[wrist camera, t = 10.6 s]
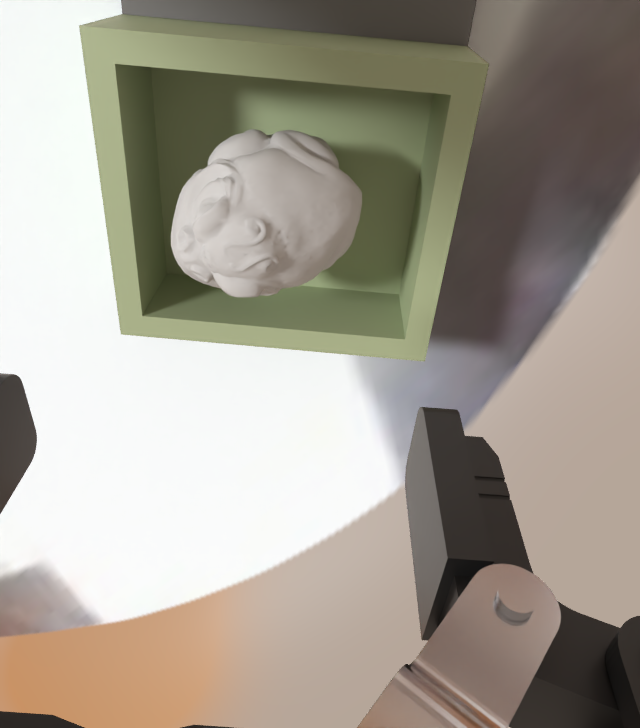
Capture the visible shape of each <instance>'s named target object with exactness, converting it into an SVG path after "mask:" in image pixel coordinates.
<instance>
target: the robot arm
mask: <svg viewBox="0 0 640 728" xmlns="http://www.w3.org/2000/svg"><path fill="white" fill-rule="evenodd" d="M36 443H37V435H36V429H35V426H34V422H33V419H32V415H31V412H30V408H29V405H28V401H27V398H26V394H25V391H24V387H23V384H22V381H21V379H20V378H19V377H18V376H17V375H14V374H1V373H0V514H1V512H2V510H3V509H4V507H5V505H6V504H7V502H8V500H9V499H10V497H11V495H12V494H13V492H14V490H15V489H16V487H17V485H18V483H19V482H20V480H21V478H22V477H23V475H24V473H25V472H26V470H27V468H28V467H29V465H30V463H31V461H32V459H33V457H34V454H35V450H36ZM504 479H505V478H504V475H503V471H502V468H501V464H500V461H499V457H498V456H497V455H496V453H495V452H494V451H493V450H492V448H491V447H490V446H489V445H488V443H486V441H485V440H484V439H483V437H472V436H471V437H470V436H465V435H464V431H463V427H462V423H461V418H460V415H459V412H458V410H454V409H441V408H428V407H420V408H419V410H418V414H417V418H416V422H415V427H414V432H413V436H412V441H411V445H410V450H409V454H408V459H407V465H406V476H405V490H406V499H407V509H408V518H409V527H410V537H411V546H412V555H413V564H414V574H415V583H416V592H417V601H418V611H419V619H420V629H421V638H422V640H428V642H427V643H426V645H425V646H424V648H423V649H422V650H421V652H420V653H419V655H418V656H417V657H416V659H415V660H414V661H413V662H412V663H411V664H410V665H408V664H405V665H404V666H403V667H402V668H401V669H400V670H399V671H398V672H397V673H396V675H395V676H394V677H393V678H392V680H391V681H390V683H389V684H388V686H387V687H386V688H385V690H384V691H383V692H382V694H381V695H380V696H379V698H378V699H377V700H376V702H375V703H374V705H373V706H372V707H371V709H370V710H369V712H368V713H367V714H366V716H365V717H364V718H363V720H362V721H361V723H360V724H359V725H358V727H357V728H508V726H509V727H511V728H640V616H636V617H633V618H631V619H629V620H628V621H626V622H625V623H624V624H623V626H622V627H621V628H618V627H616V626H613V625H610V624H607V623H604V622H602V621H599V620H597V619H594V618H591V617H588V616H586V615H583V614H580V613H578V612H576V611H573V610H571V609H569V608H567V607H566V606H564V605H562V604H561V603H560V602H558V601H557V600H556V597H555V596H554V594H553V593H552V591H551V589H550V588H549V587H548V586H547V585H546V584H545V583H544V582H543V581H542V580H541V579H540V578H539V577H537V576H536V575H534V574H533V571H532V569H531V566H530V563H529V559H528V556H527V553H526V549H525V546H524V542H523V539H522V536H521V532H520V529H519V525H518V522H517V519H516V515H515V512H514V509H513V505H512V502H511V500H510V495H509V491H508V488H507V484H506V483H505V482H504ZM0 728H84V727H81V726H79V725H77V724H74V723H71V722H69V721H66V720H64V719H61V718H59V717H56V716H54V715H45V714H30V713H15V712H2V711H0ZM182 728H231V727H217V726H203V725H192V726H187V727H182Z"/></svg>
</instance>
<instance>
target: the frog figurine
mask: <svg viewBox="0 0 640 728" xmlns="http://www.w3.org/2000/svg"><path fill="white" fill-rule="evenodd" d="M361 207H362V192H361V190H360V188H359V187H358V186H357V185H356V184H355V182H354V181H353V180H352V179H351V178H350V177H349V176H348V175H347V174H345V173H344V172H343V171H341V170H340V169H339V163H338V160H337V157H336V155H335V154H334V152H333V151H332V149H331V148H330V146H329V145H328V143H327V142H326V141H324V140H323V139H321V138H319V137H316V136H310V135H308V134H305V133H303V132H298V131H294V130H284V131H278V132H276V133H274V134H271V135H266V134H265V133H264V132H262V131H261V130H256V129H250V130H247V131H245V132H244V133H241V134H236V135H234V136H231V137H230V138H228V139H227V140H225V141H223V142H222V143H220V144H219V145H218V146H217V147H216V148H215V149H214V151H213V152H212V154H211V155H210V157H209V160H208V166H207V167H206V168H204V169H199V170H198V171H196V172H195V173H194V174H193V176H192V177H191V178H190V179H189V180H188V181H187V182H186V184H185V185H184V186H183V188H182V190H181V193H180V195H179V198H178V201H177V205H176V209H175V214H174V218H173V224H172V231H171V247H172V251H173V254H174V257H175V259H176V261H177V263H178V265H179V266H180V267H181V269H182V270H183V271H184V273H186V274H187V275H189V276H190V277H191V278H193V279H195V280H197V281H199V282H201V283H203V284H207V285H210V286H213V287H217V288H221V289H222V290H223V291H224V292H225V293H226V294H228V295H229V296H233V297H258V296H259V295H261V296H269V295H273V294H277V293H278V292H279V291H280V290H281V289H284V288H292V287H296V286H300V285H302V284H304V283H307V282H308V281H310V280H312V279H313V278H315V277H316V276H318V274H319V273H320V272H321V271H322V270H325V269H328V268H329V267H331V266H332V265H333V264H334V263H335V261H336V260H337V259H339V258H340V257H341V256H342V255H343V254H345V252H346V251H347V250H348V248H349V247H350V246H351V244H352V241H353V239H354V236H355V232H356V228H357V225H358V222H359V219H360V213H361Z"/></svg>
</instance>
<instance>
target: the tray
mask: <svg viewBox="0 0 640 728" xmlns="http://www.w3.org/2000/svg"><path fill="white" fill-rule="evenodd" d="M121 3H122V13H123V14H121V15H117V16H114V17H110V18H106V19H103V20H99V21H95V22H91V23H88V24H84V25H80V26H79V27H80V35H81V42H82V49H83V57H84V64H85V72H86V79H87V86H88V94H89V101H90V109H91V116H92V123H93V131H94V138H95V145H96V153H97V160H98V168H99V175H100V182H101V190H102V197H103V205H104V212H105V219H106V227H107V234H108V242H109V249H110V256H111V264H112V271H113V279H114V286H115V293H116V301H117V308H118V316H119V323H120V330H121V334H123V335H135V336H146V337H157V338H168V339H179V340H191V341H202V342H213V343H224V344H236V345H247V346H258V347H269V348H281V349H292V350H303V351H314V352H325V353H337V354H348V355H359V356H370V357H382V358H393V359H404V360H415V361H425V357H426V353H427V348H428V344H429V339H430V334H431V330H432V325H433V320H434V316H435V311H436V307H437V302H438V297H439V293H440V288H441V284H442V279H443V274H444V270H445V265H446V260H447V256H448V251H449V247H450V242H451V237H452V233H453V228H454V223H455V219H456V214H457V210H458V205H459V200H460V196H461V191H462V187H463V182H464V177H465V173H466V168H467V163H468V159H469V154H470V150H471V145H472V140H473V136H474V131H475V127H476V122H477V117H478V113H479V108H480V103H481V99H482V94H483V90H484V85H485V80H486V76H487V71H488V67H489V63H487V62H486V61H485V60H484V59H483V58H481V57H480V56H479V55H478V54H476V53H475V52H474V51H473V50H471V49H470V48H469V47H468V41H469V36H470V31H471V25H472V20H473V15H474V10H475V5H476V0H121ZM250 129H256V130H261V131H262V132H264V133H265V134H266V135H271V134H274V133H276V132H278V131H284V130H294V131H298V132H303V133H305V134H308V135H310V136H316V137H319V138H321V139H323V140H324V141H326V142H327V143H328V145H329V146H330V148H331V149H332V151H333V152H334V154H335V155H336V157H337V160H338V163H339V169H340V170H341V171H343V172H344V173H345V174H347V175H348V176H349V177H350V178H351V179H352V180H353V181H354V182H355V184H356V185H357V186H358V187H359V188H360V190H361V192H362V207H361V213H360V219H359V222H358V225H357V228H356V232H355V236H354V239H353V241H352V244H351V246H350V247H349V248H348V250H347V251H346V252H345V254H343V255H342V256H341V257H340V258H339V259H337V260H336V261H335V263H334V264H333V265H332V266H331V267H329V268H328V269H325V270H322V271H321V272H320V273H319V274H318V276H316V277H315V278H313V279H312V280H310V281H308V282H307V283H304V284H302V285H300V286H296V287H292V288H284V289H281V290H280V291H279V292H278V293H277V294H273V295H269V296H261V295H259V296H258V297H233V296H229V295H228V294H226V293H225V292H224V291H223V290H222V289H221V288H217V287H213V286H210V285H207V284H203V283H201V282H199V281H197V280H195V279H193V278H191V277H190V276H189V275H187V274H186V273H184V271H183V270H182V269H181V267H180V266H179V265H178V263H177V261H176V259H175V257H174V254H173V251H172V247H171V231H172V224H173V218H174V214H175V209H176V205H177V201H178V198H179V195H180V193H181V190H182V188H183V186H184V185H185V184H186V182H187V181H188V180H189V179H190V178H191V177H192V176H193V174H194V173H195V172H196V171H198V170H199V169H204V168H206V167H207V166H208V160H209V157H210V155H211V154H212V152H213V151H214V149H215V148H216V147H217V146H218V145H219V144H220V143H222V142H223V141H225V140H227V139H228V138H230V137H231V136H234V135H236V134H241V133H244V132H245V131H247V130H250Z"/></svg>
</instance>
